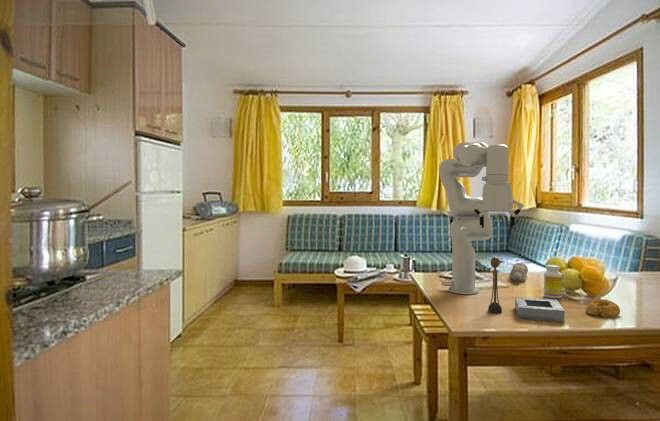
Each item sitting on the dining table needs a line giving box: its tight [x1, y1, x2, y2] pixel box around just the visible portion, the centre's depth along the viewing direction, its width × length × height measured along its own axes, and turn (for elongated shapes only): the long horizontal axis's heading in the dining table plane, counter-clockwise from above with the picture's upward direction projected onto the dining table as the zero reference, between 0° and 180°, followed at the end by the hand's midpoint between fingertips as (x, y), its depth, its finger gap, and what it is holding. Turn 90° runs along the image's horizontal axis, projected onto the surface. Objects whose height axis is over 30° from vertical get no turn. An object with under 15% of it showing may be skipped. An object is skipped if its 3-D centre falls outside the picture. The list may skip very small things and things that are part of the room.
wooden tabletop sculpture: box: [487, 256, 503, 315], centre depth 160 cm, size 6×5×20 cm
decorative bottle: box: [509, 262, 529, 282], centre depth 217 cm, size 26×8×7 cm, turn 153°
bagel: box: [585, 298, 621, 318], centre depth 157 cm, size 10×11×5 cm
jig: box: [514, 296, 565, 323], centre depth 156 cm, size 14×15×4 cm
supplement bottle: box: [543, 264, 563, 300], centre depth 182 cm, size 7×7×13 cm
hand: (496, 227), depth 159 cm, fingers open, 9 cm apart
